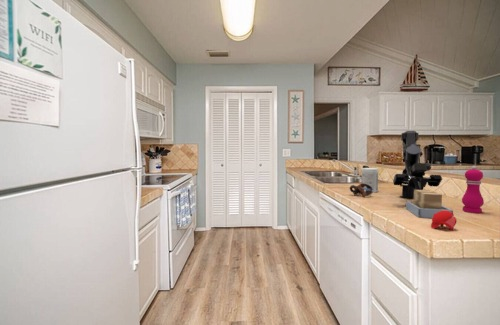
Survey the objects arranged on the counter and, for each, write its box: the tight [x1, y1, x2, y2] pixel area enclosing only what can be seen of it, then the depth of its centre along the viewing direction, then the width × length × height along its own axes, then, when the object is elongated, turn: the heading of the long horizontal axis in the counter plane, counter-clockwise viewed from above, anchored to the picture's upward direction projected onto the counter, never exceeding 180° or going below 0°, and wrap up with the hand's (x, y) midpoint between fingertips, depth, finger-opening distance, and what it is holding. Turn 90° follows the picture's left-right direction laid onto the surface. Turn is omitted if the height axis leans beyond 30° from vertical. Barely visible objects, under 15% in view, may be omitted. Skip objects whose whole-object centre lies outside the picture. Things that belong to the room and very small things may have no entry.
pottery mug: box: [349, 182, 373, 198], centre depth 148 cm, size 12×10×8 cm
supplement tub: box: [361, 167, 379, 193], centre depth 163 cm, size 10×10×15 cm
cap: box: [430, 210, 457, 231], centre depth 89 cm, size 8×6×6 cm
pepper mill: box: [461, 165, 485, 214], centre depth 111 cm, size 7×7×20 cm
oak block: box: [412, 189, 443, 209], centre depth 109 cm, size 12×6×9 cm, turn 165°
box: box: [405, 200, 454, 219], centre depth 108 cm, size 16×12×4 cm
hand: (421, 194), depth 115 cm, fingers closed
